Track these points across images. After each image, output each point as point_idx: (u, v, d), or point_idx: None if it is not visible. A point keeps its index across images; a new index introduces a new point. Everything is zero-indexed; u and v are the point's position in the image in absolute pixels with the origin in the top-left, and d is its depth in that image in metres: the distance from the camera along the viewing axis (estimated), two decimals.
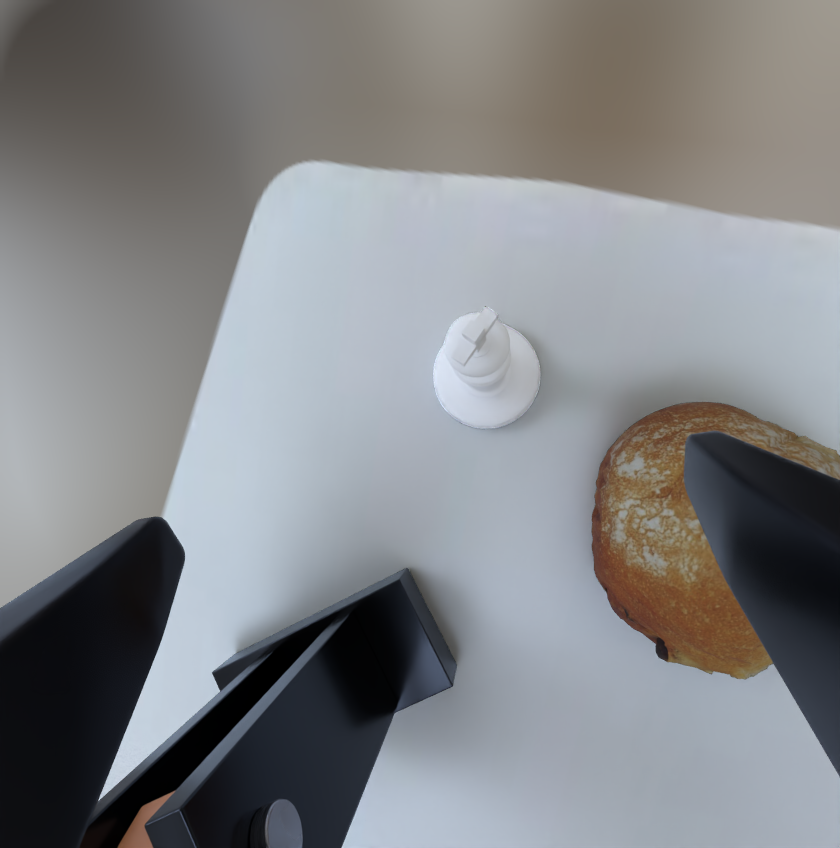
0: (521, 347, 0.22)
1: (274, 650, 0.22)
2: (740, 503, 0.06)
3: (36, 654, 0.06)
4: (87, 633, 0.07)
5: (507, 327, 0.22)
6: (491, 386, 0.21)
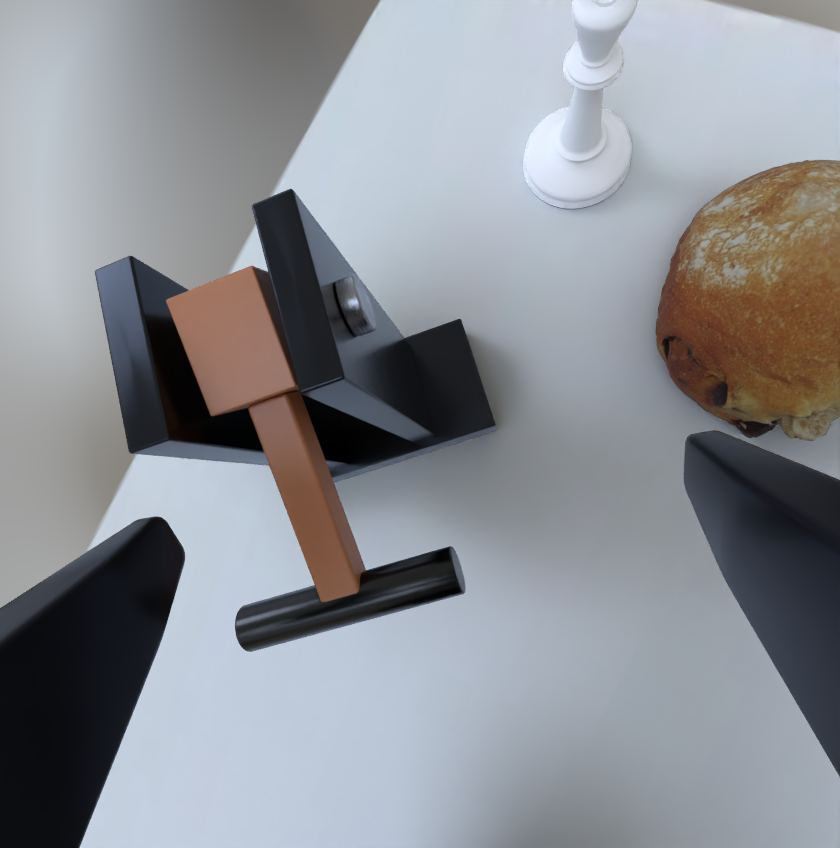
0: (618, 126, 0.23)
1: None
2: (740, 503, 0.06)
3: (36, 654, 0.06)
4: (87, 633, 0.07)
5: (606, 110, 0.23)
6: (586, 142, 0.21)
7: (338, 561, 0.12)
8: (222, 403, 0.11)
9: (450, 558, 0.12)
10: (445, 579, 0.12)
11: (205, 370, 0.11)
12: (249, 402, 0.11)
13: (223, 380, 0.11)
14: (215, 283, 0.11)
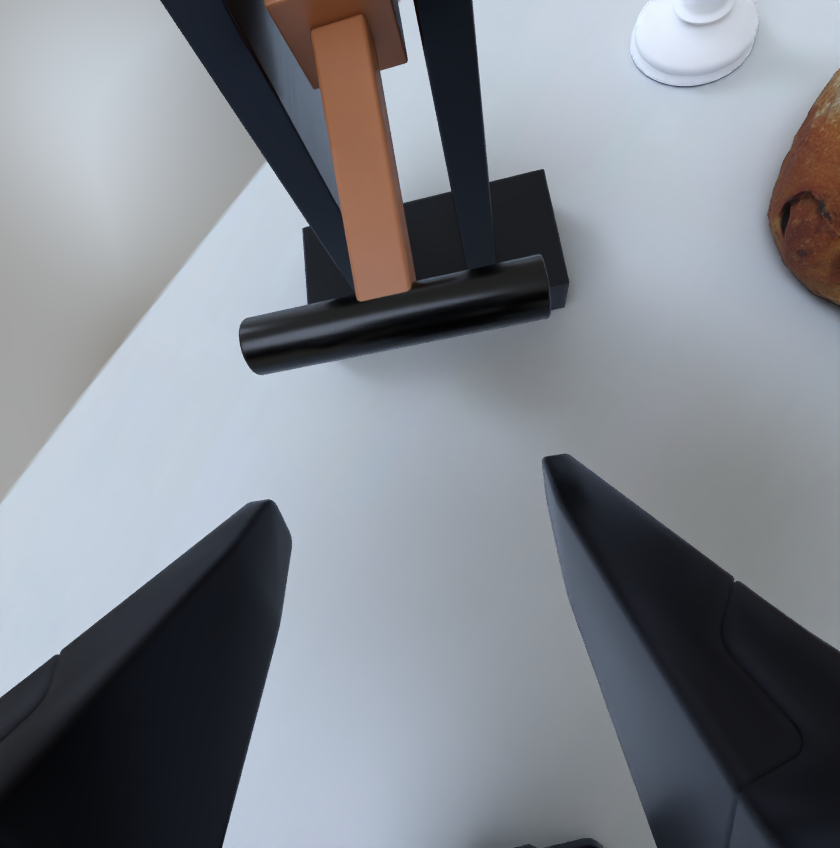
0: None
1: None
2: (561, 527, 0.06)
3: (185, 638, 0.06)
4: (223, 618, 0.07)
5: None
6: None
7: (390, 245, 0.09)
8: None
9: (539, 256, 0.09)
10: (531, 275, 0.09)
11: None
12: None
13: None
14: None
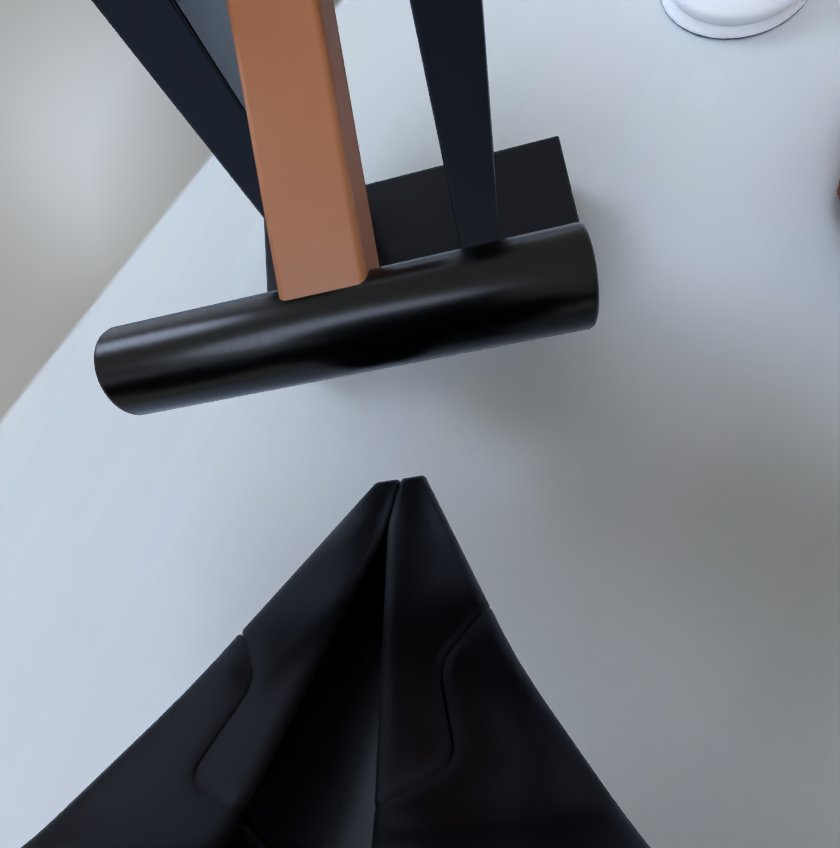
0: None
1: None
2: None
3: (362, 619, 0.06)
4: (383, 599, 0.06)
5: None
6: None
7: (331, 208, 0.06)
8: None
9: (580, 224, 0.05)
10: (567, 256, 0.05)
11: None
12: None
13: None
14: None
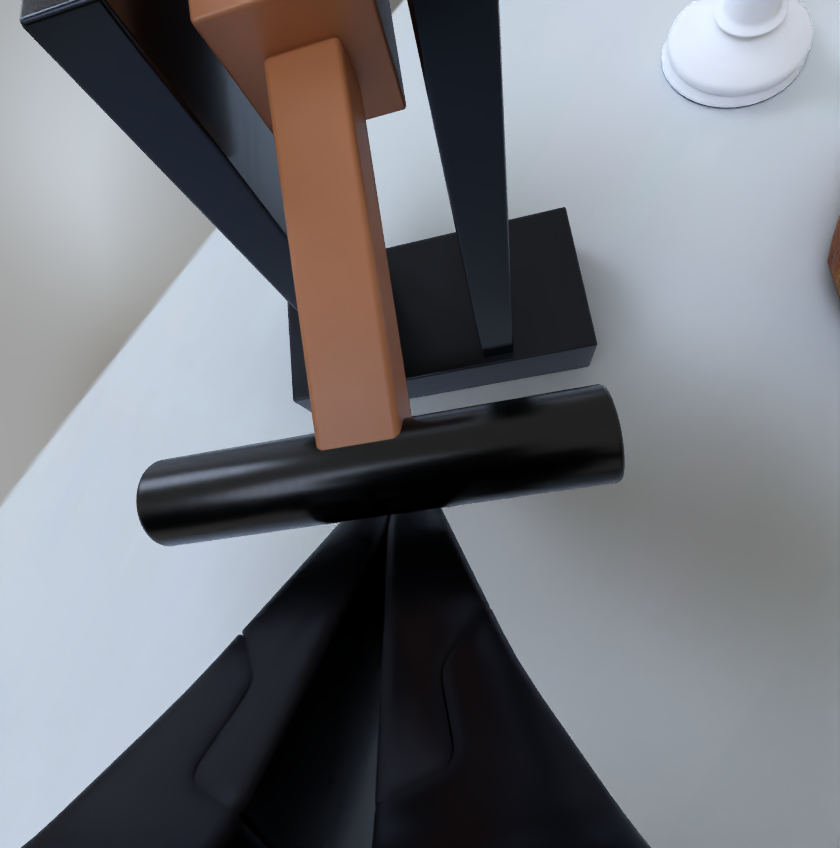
0: (798, 8, 0.18)
1: None
2: None
3: (362, 619, 0.06)
4: (383, 599, 0.06)
5: None
6: (763, 7, 0.16)
7: (368, 367, 0.06)
8: None
9: (604, 391, 0.06)
10: (595, 425, 0.05)
11: None
12: (268, 0, 0.06)
13: None
14: None
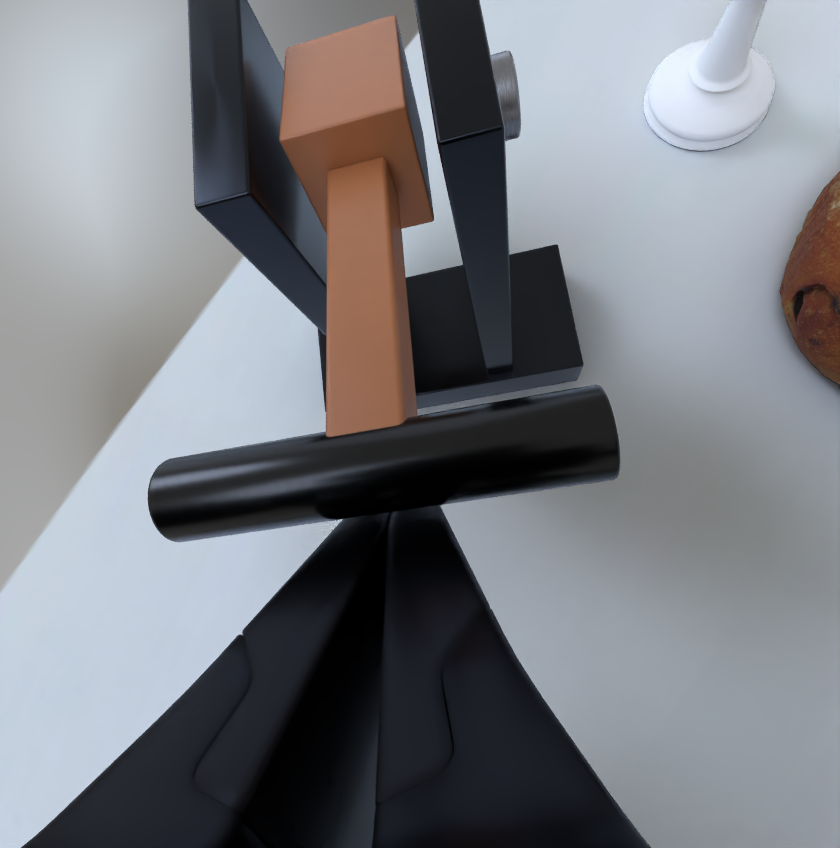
0: (762, 63, 0.20)
1: None
2: None
3: (362, 619, 0.06)
4: (383, 599, 0.06)
5: None
6: (729, 68, 0.19)
7: (381, 367, 0.07)
8: (300, 126, 0.08)
9: (596, 385, 0.06)
10: (586, 406, 0.06)
11: (296, 98, 0.09)
12: (335, 127, 0.08)
13: (313, 105, 0.08)
14: None
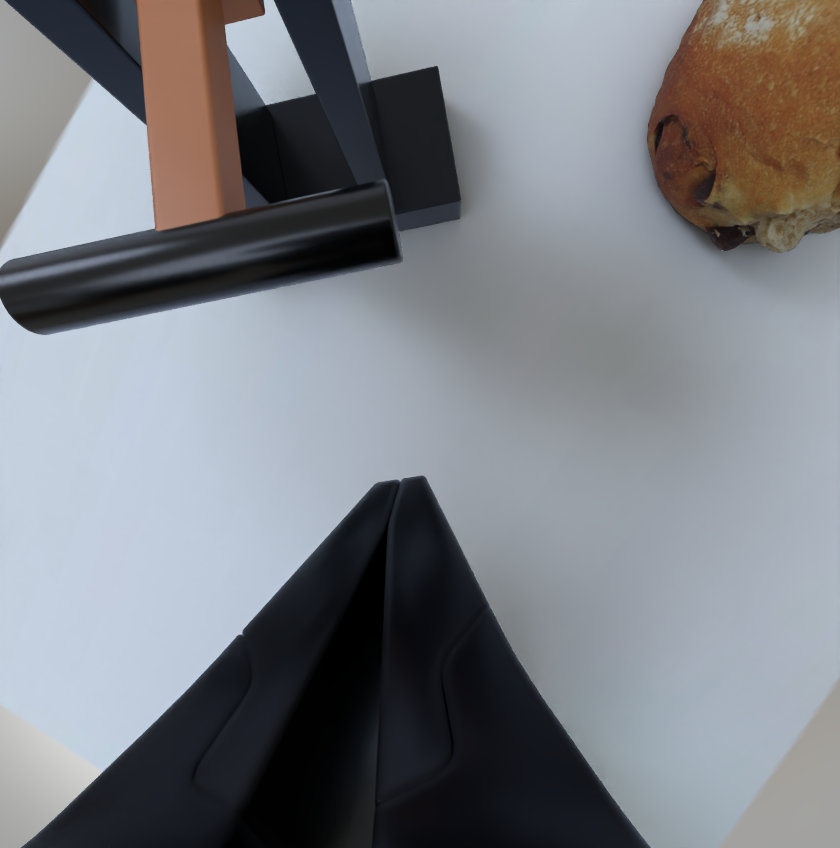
0: None
1: (267, 108, 0.19)
2: None
3: (362, 619, 0.06)
4: (383, 599, 0.06)
5: None
6: None
7: (200, 165, 0.07)
8: None
9: (383, 179, 0.07)
10: (369, 196, 0.07)
11: None
12: None
13: None
14: None
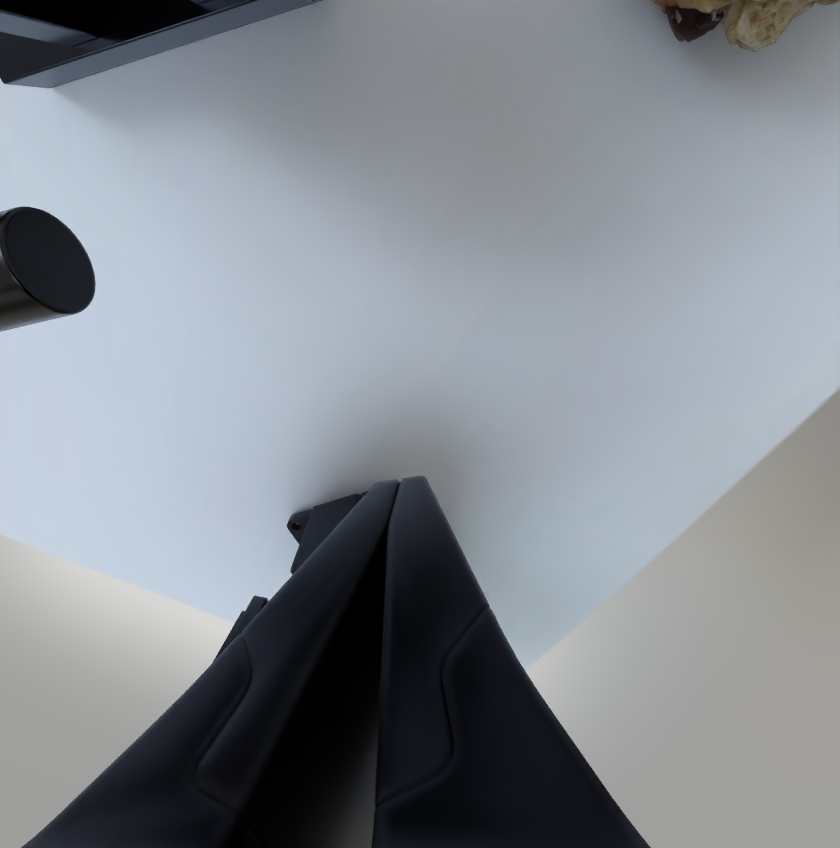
0: None
1: None
2: None
3: (362, 619, 0.06)
4: (383, 599, 0.06)
5: None
6: None
7: None
8: None
9: (2, 216, 0.05)
10: None
11: None
12: None
13: None
14: None
